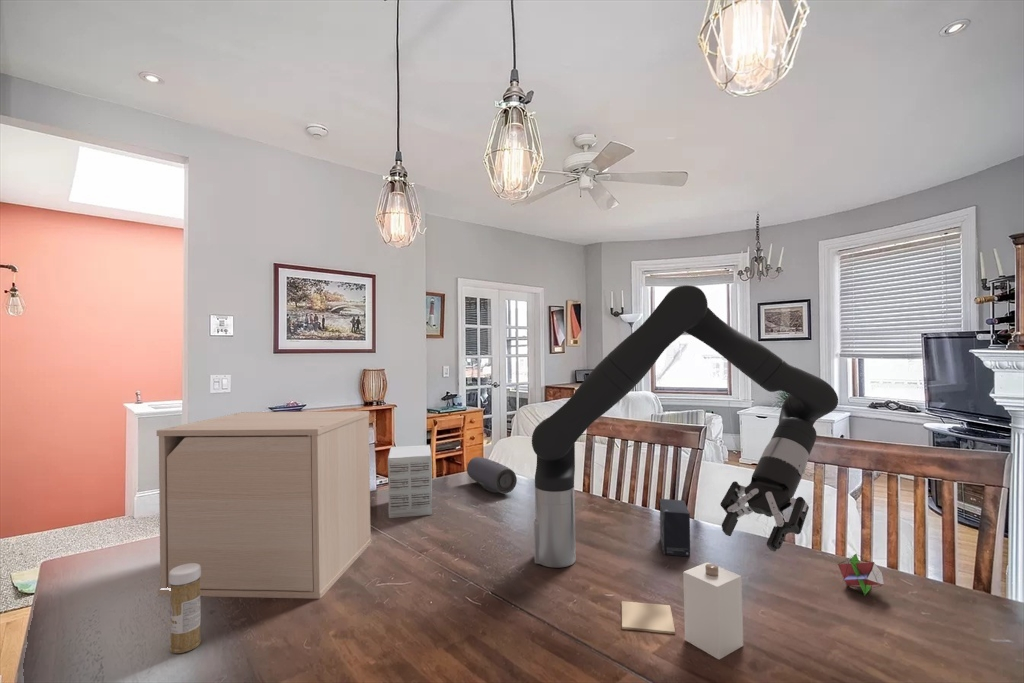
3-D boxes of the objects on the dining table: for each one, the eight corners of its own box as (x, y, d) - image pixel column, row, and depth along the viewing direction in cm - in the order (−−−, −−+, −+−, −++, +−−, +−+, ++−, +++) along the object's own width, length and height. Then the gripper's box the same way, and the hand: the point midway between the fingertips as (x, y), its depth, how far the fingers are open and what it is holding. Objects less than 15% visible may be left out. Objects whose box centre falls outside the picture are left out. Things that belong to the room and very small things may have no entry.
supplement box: (391, 501, 165) (390, 446, 166) (431, 498, 168) (430, 444, 168) (387, 518, 148) (386, 457, 148) (432, 515, 151) (431, 455, 151)
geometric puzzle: (824, 575, 102) (851, 551, 98) (836, 565, 107) (862, 542, 103) (858, 607, 98) (887, 583, 94) (868, 595, 102) (897, 572, 98)
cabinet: (158, 595, 104) (156, 430, 104) (243, 541, 133) (242, 411, 133) (320, 598, 101) (317, 428, 102) (371, 542, 130) (369, 410, 130)
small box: (692, 557, 117) (691, 512, 117) (663, 555, 118) (662, 511, 119) (685, 540, 128) (684, 499, 128) (659, 538, 129) (658, 498, 129)
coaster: (621, 628, 88) (621, 626, 88) (621, 603, 97) (621, 601, 97) (675, 634, 86) (675, 631, 86) (670, 607, 95) (670, 605, 95)
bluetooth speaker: (518, 494, 170) (518, 465, 170) (494, 499, 165) (494, 469, 165) (488, 480, 189) (487, 453, 190) (465, 483, 185) (465, 456, 185)
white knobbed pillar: (719, 659, 79) (717, 579, 79) (684, 639, 84) (683, 564, 85) (743, 645, 83) (741, 568, 83) (708, 627, 88) (707, 555, 88)
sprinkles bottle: (166, 648, 85) (165, 568, 85) (196, 635, 89) (195, 559, 89) (175, 658, 82) (174, 576, 82) (205, 645, 86) (204, 566, 86)
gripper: (737, 449, 100) (703, 518, 94) (812, 462, 88) (778, 542, 82) (753, 471, 103) (721, 539, 97) (827, 487, 91) (796, 566, 85)
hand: (747, 540), depth 89 cm, fingers open, 8 cm apart
